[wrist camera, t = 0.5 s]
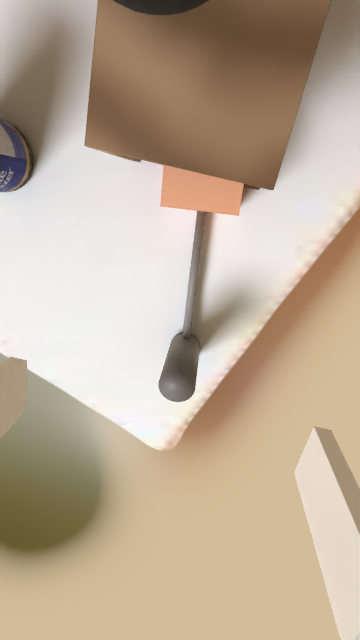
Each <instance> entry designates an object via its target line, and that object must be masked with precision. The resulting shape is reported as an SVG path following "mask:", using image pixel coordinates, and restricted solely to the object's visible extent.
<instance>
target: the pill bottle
mask: <svg viewBox="0 0 360 640" xmlns="http://www.w3.org/2000/svg"><path fill="white" fill-rule="evenodd" d="M32 167H33V157H32V152H31V149H30V147H29V144H28V142H27V140H26V139H25V137H24V136H23V134H22V133H21V132H20V131H19V130H18V129H17V128H16V127H15V126H13V125H12V124H10V123H8V122H6V121H4V120H1V119H0V192H11V191H15V190H18V189H19V188H21V187H22V186H23V185H25V184H26V182H27V181H28V179H29V177H30V171H31V170H32Z"/></svg>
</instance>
